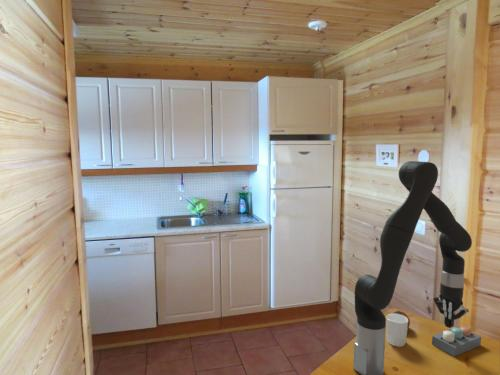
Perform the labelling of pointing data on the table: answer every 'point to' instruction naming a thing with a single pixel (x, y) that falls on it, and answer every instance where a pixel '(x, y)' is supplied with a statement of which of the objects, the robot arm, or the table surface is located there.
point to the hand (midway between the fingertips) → (448, 326)
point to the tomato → (403, 315)
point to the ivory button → (448, 336)
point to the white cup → (396, 329)
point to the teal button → (457, 333)
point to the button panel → (456, 343)
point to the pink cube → (466, 331)
